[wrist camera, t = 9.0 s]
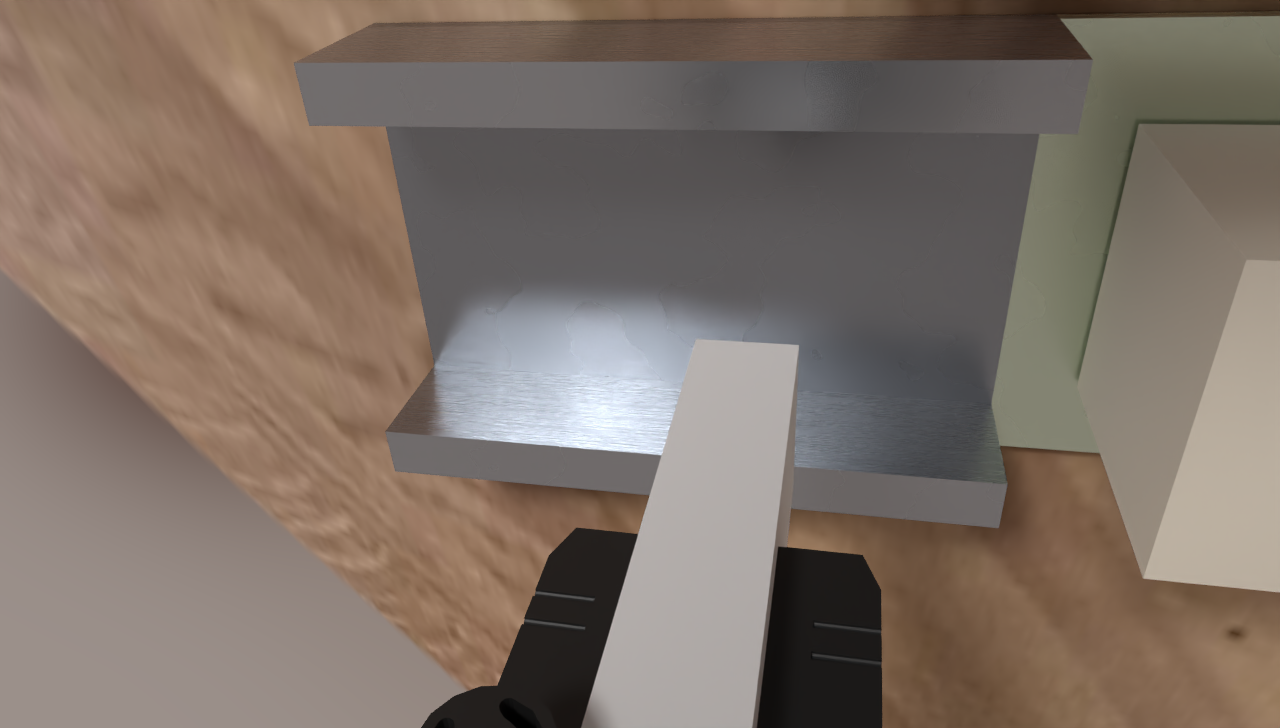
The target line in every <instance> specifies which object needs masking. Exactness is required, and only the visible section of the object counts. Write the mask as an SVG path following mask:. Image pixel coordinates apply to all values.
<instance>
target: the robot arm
mask: <svg viewBox="0 0 1280 728" xmlns="http://www.w3.org/2000/svg"><path fill="white" fill-rule="evenodd" d="M798 360H799V345H790V344H773V343H756V342H739V341H722V340H705V339H696V340H695V344H694V347H693V351H692V354H691V357H690V361H689V364H688V368H687V371H686V374H685V378H684V381H683V385H682V388H681V391H680V395H679V398H678V401H677V405H676V408H675V412H674V415H673V418H672V422H671V425H670V429H669V432H668V435H667V439H666V442H665V445H664V449H663V452H662V456H661V459H660V462H659V466H658V469H657V473H656V476H655V479H654V483H653V486H652V489H651V493H650V496H649V500H648V503H647V506H646V510H645V513H644V517H643V520H642V523H641V527H640V530H639V533H638V534H632V533H623V532H613V531H604V530H594V529H584V528H576V529H575V530H574V531H573V532H572V533H571V534H570V535H569V536H568V537H567V538H566V539H565V540H564V541H563V542H562V543H561V544H560V545H559V546H558V547H557V548H556V549H555V550H554V551H553V552H552V553H551V554H550V555H549V557H548V559H547V562H546V564H545V567H544V569H543V572H542V574H541V577H540V580H539V582H538V585H537V587H536V593H535V596H533V597H532V600H531V602H530V605H529V607H528V610H527V612H526V615H525V620H524V624H522V625H521V627H520V630H519V632H518V635H517V637H516V640H515V643H514V645H513V648H512V650H511V653H510V655H509V658H508V660H507V663H506V665H505V668H504V670H503V673H502V675H501V678H500V680H499V683H498V685H497V686H481V687H478V688H475V689H472V690H470V691H467V692H464V693H461V694H459V695H456V696H454V697H452V698H451V699H450V700H448V701H447V702H446V703H444V704H443V705H442V706H440V707H439V708H438V709H436V710H435V711H434V712H433V713H431V714H430V716H429V717H428V719H427V720H426V721H425V723H424V724H423V726H422V727H421V728H882V668H881V662H882V640H881V589H880V587H879V585H878V583H877V581H876V580H875V578H874V576H873V574H872V572H871V570H870V568H869V566H868V564H867V562H866V560H865V559H864V557H863V555H856V554H847V553H837V552H828V551H818V550H809V549H799V548H789V547H787V542H788V533H789V523H790V514H791V505H792V495H793V482H794V457H795V433H796V408H797V384H798Z"/></svg>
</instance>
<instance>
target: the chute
mask: <svg viewBox="0 0 1280 728" xmlns="http://www.w3.org/2000/svg"><path fill="white" fill-rule="evenodd" d="M294 66H295V70H296V74H297V78H298V82H299V86H300V90H301V94H302V98H303V102H304V106H305V110H306V114H307V118H308V122H309V126H386V129H387V134H388V139H389V144H390V149H391V154H392V159H393V164H394V169H395V174H396V178H397V183H398V188H399V193H400V198H401V203H402V208H403V213H404V218H405V223H406V227H407V232H408V237H409V242H410V247H411V252H412V257H413V262H414V267H415V272H416V276H417V281H418V286H419V291H420V296H421V301H422V306H423V311H424V316H425V321H426V326H427V330H428V335H429V340H430V345H431V350H432V355H433V360H434V367H433V368H432V369H431V371H430V372H429V374H428V375H427V376H426V378H425V379H424V380H423V382H422V383H421V384H420V386H419V387H418V388H417V390H416V391H415V392H414V394H413V395H412V396H411V398H410V399H409V400H408V402H407V403H406V405H405V406H404V407H403V409H402V410H401V411H400V413H399V414H398V415H397V417H396V418H395V419H394V421H393V422H392V423H391V425H390V426H389V427H388V429H387V430H386V436H387V440H388V444H389V448H390V452H391V456H392V460H393V464H394V468H395V471H398V472H408V473H419V474H430V475H440V476H451V477H461V478H472V479H483V480H493V481H504V482H514V483H525V484H536V485H546V486H557V487H567V488H578V489H589V490H599V491H610V492H621V493H631V494H642V495H650V493H651V489H652V486H653V483H654V479H655V476H656V473H657V469H658V466H659V462H660V459H661V456H662V452H663V449H664V445H665V442H666V439H667V435H668V432H669V429H670V425H671V422H672V418H673V415H674V412H675V408H676V405H677V401H678V398H679V395H680V391H681V388H682V385H683V381H684V378H685V374H686V371H687V368H688V364H689V361H690V357H691V354H692V351H693V347H694V344H695V340H696V339H705V340H722V341H739V342H756V343H773V344H790V345H799V360H798V384H797V408H796V433H795V457H794V482H793V495H792V505H791V509H801V510H811V511H822V512H833V513H843V514H854V515H864V516H875V517H886V518H896V519H907V520H917V521H928V522H939V523H949V524H960V525H971V526H981V527H992V528H999V525H1000V520H1001V515H1002V510H1003V505H1004V500H1005V495H1006V490H1007V485H1008V484H1007V479H1006V474H1005V469H1004V464H1003V459H1002V454H1001V449H1000V446H1013V447H1026V448H1039V449H1052V450H1065V451H1078V452H1091V453H1100V452H1099V449H1098V446H1097V443H1096V440H1095V438H1094V435H1093V432H1092V429H1091V426H1090V423H1089V420H1088V417H1087V414H1086V411H1085V409H1084V406H1083V403H1082V400H1081V397H1080V394H1079V391H1078V388H1077V385H1078V380H1079V376H1080V372H1081V368H1082V363H1083V359H1084V355H1085V351H1086V346H1087V342H1088V338H1089V334H1090V329H1091V325H1092V321H1093V317H1094V312H1095V308H1096V304H1097V300H1098V295H1099V291H1100V287H1101V283H1102V278H1103V274H1104V270H1105V266H1106V262H1107V257H1108V253H1109V249H1110V245H1111V240H1112V236H1113V232H1114V228H1115V223H1116V219H1117V215H1118V211H1119V206H1120V202H1121V198H1122V194H1123V189H1124V185H1125V181H1126V177H1127V172H1128V168H1129V164H1130V160H1131V155H1132V151H1133V147H1134V143H1135V138H1136V134H1137V130H1138V126H1139V124H1226V125H1280V11H1261V12H1186V13H1112V14H1038V15H964V16H889V17H815V18H741V19H667V20H592V21H518V22H444V23H374V24H372V25H370V26H368V27H366V28H364V29H362V30H360V31H358V32H356V33H353V34H351V35H349V36H347V37H345V38H343V39H341V40H339V41H337V42H335V43H333V44H331V45H329V46H327V47H325V48H323V49H321V50H319V51H317V52H315V53H313V54H311V55H309V56H307V57H305V58H303V59H301V60H299V61H297V62H294Z"/></svg>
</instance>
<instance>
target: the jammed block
mask: <svg viewBox="0 0 1280 728" xmlns="http://www.w3.org/2000/svg"><path fill="white" fill-rule="evenodd" d="M1077 388H1078V391H1079V394H1080V397H1081V400H1082V403H1083V406H1084V409H1085V411H1086V414H1087V417H1088V420H1089V423H1090V426H1091V429H1092V432H1093V435H1094V438H1095V440H1096V443H1097V446H1098V449H1099V452H1100V455H1101V458H1102V461H1103V464H1104V467H1105V469H1106V472H1107V475H1108V478H1109V481H1110V484H1111V487H1112V490H1113V493H1114V496H1115V499H1116V501H1117V504H1118V507H1119V510H1120V513H1121V516H1122V519H1123V522H1124V525H1125V528H1126V530H1127V533H1128V536H1129V539H1130V542H1131V545H1132V548H1133V551H1134V554H1135V557H1136V559H1137V562H1138V565H1139V568H1140V571H1141V574H1142V577H1143V579H1152V580H1162V581H1172V582H1182V583H1192V584H1202V585H1211V586H1221V587H1231V588H1241V589H1251V590H1261V591H1270V592H1280V125H1226V124H1139V126H1138V130H1137V134H1136V138H1135V143H1134V147H1133V151H1132V155H1131V160H1130V164H1129V168H1128V172H1127V177H1126V181H1125V185H1124V189H1123V194H1122V198H1121V202H1120V206H1119V211H1118V215H1117V219H1116V223H1115V228H1114V232H1113V236H1112V240H1111V245H1110V249H1109V253H1108V257H1107V262H1106V266H1105V270H1104V274H1103V278H1102V283H1101V287H1100V291H1099V295H1098V300H1097V304H1096V308H1095V312H1094V317H1093V321H1092V325H1091V329H1090V334H1089V338H1088V342H1087V346H1086V351H1085V355H1084V359H1083V363H1082V368H1081V372H1080V376H1079V380H1078V385H1077Z"/></svg>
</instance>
